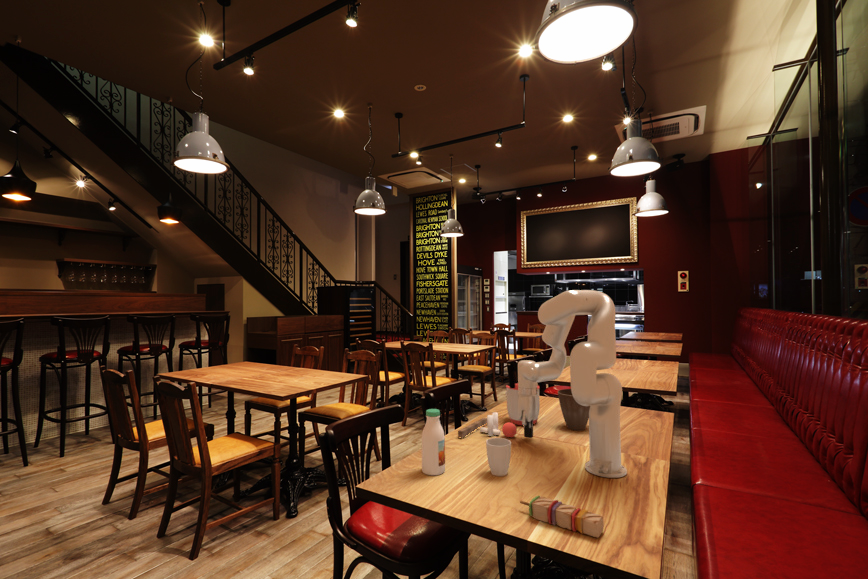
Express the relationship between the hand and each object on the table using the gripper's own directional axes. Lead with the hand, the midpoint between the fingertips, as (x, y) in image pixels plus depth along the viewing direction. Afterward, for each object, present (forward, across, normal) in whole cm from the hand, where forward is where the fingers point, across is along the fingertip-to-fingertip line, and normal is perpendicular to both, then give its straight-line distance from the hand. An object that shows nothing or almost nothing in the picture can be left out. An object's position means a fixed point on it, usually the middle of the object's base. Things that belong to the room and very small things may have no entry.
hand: (528, 437), depth 165 cm
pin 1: (+2, +2, -16) cm, 16 cm away
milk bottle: (+2, +46, -16) cm, 49 cm away
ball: (-2, 0, -8) cm, 9 cm away
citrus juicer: (+2, -24, -12) cm, 27 cm away
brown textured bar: (+2, 0, -25) cm, 25 cm away
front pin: (0, 0, -13) cm, 13 cm away
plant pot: (+2, -27, +12) cm, 30 cm away
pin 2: (+2, -2, -16) cm, 16 cm away
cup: (+2, +36, +3) cm, 36 cm away
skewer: (+2, +56, +28) cm, 63 cm away
